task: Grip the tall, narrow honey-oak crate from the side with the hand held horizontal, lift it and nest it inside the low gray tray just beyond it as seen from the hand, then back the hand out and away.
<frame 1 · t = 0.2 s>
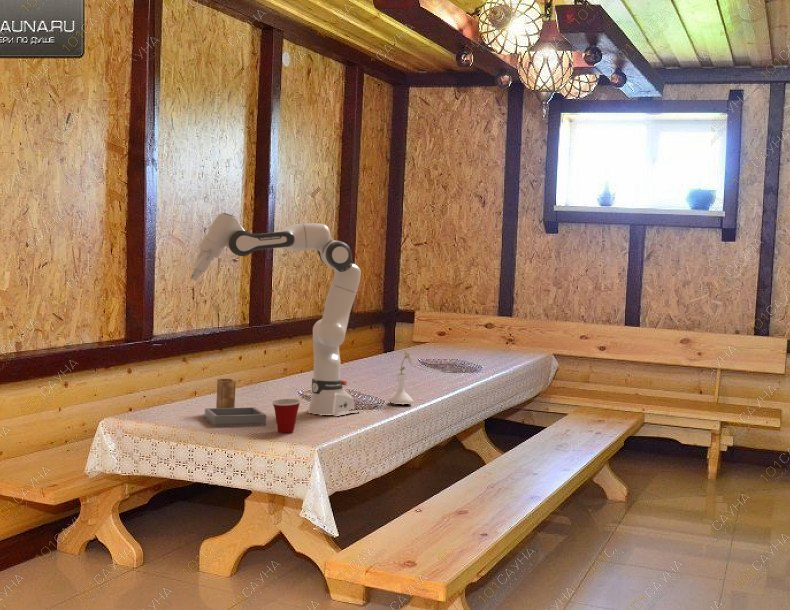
hand: (193, 279, 414), 54 cm above the table, tool tilted 25°, fingers open, 8 cm apart
gray tray: (235, 421, 405), on the table
oak crate: (225, 414, 419), on the table
plastic cup: (284, 432, 391), on the table
flower in vase: (400, 404, 463), on the table
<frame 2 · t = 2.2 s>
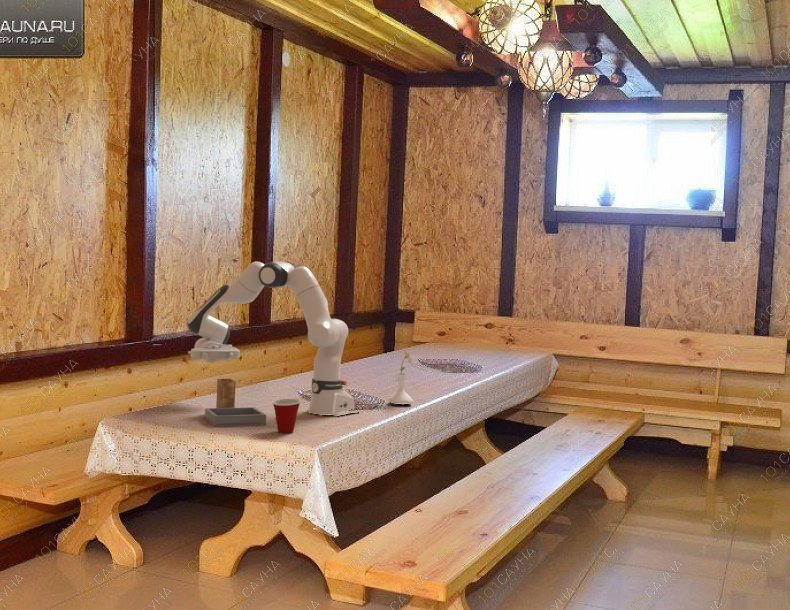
hand: (219, 356, 428), 22 cm above the table, tool horizontal, fingers open, 8 cm apart
nothing on the table moved.
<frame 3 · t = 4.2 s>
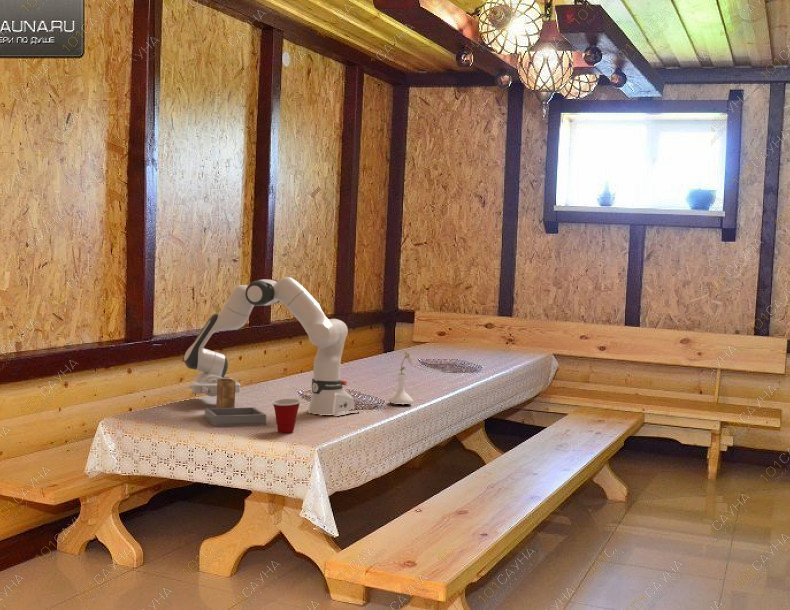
hand: (220, 391, 427), 8 cm above the table, tool horizontal, fingers open, 8 cm apart
nothing on the table moved.
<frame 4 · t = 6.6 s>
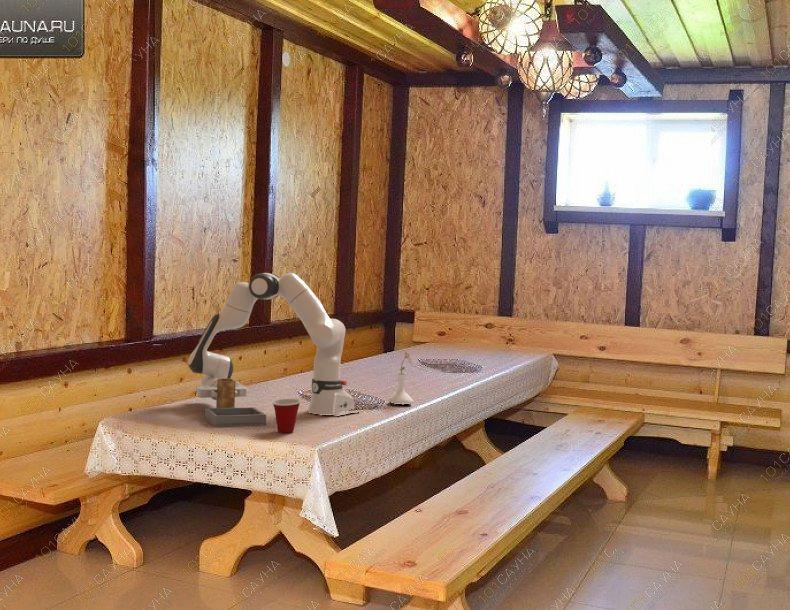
hand: (226, 395, 417), 8 cm above the table, tool horizontal, fingers closed on oak crate, 6 cm apart
oak crate: (225, 414, 419), on the table, touching gripper
everything else where it was.
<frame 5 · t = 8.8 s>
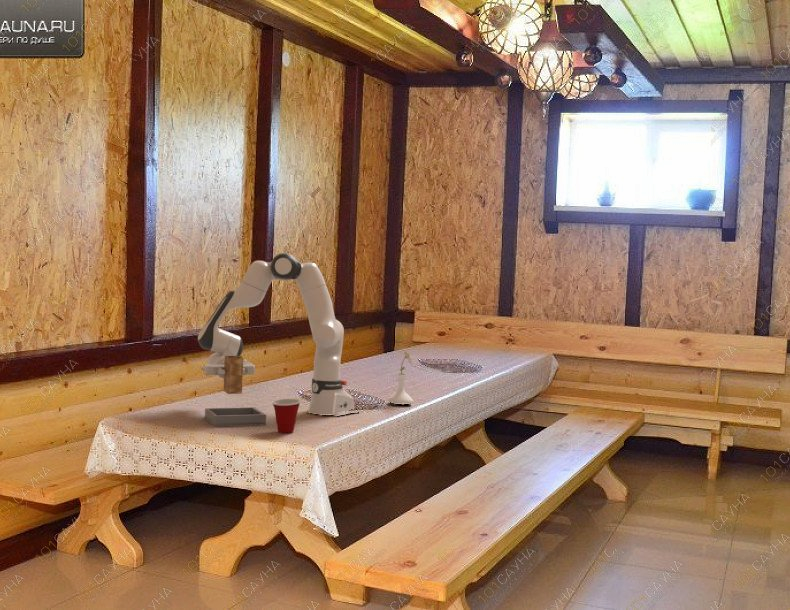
hand: (234, 372, 407), 19 cm above the table, tool horizontal, fingers closed on oak crate, 6 cm apart
oak crate: (232, 392, 409), point 11 cm above the table, touching gripper
everything else where it was.
when the fingers open (10 cm above the table, at t = 11.3 s): oak crate drops 1 cm, resting on gray tray.
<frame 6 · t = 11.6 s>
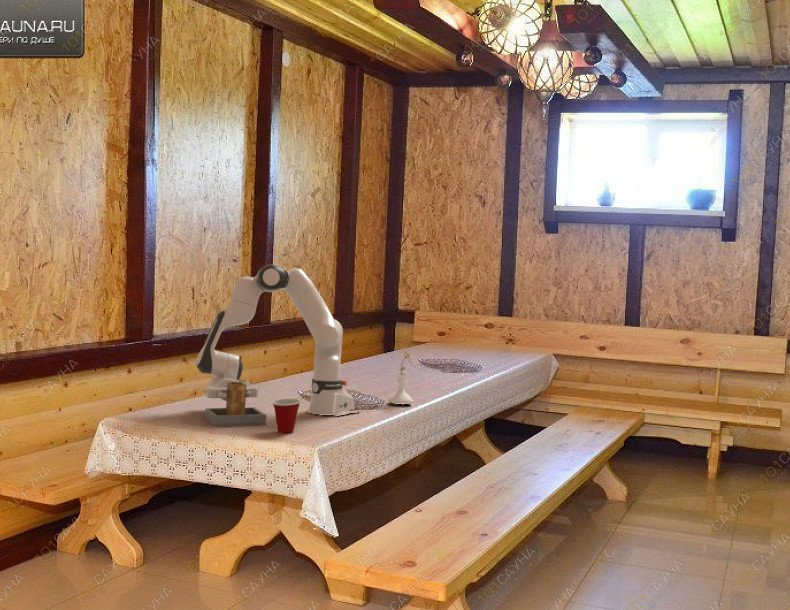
hand: (236, 395, 403), 10 cm above the table, tool horizontal, fingers open, 8 cm apart
oak crate: (235, 419, 405), point 1 cm above the table, touching gray tray
everything else where it was.
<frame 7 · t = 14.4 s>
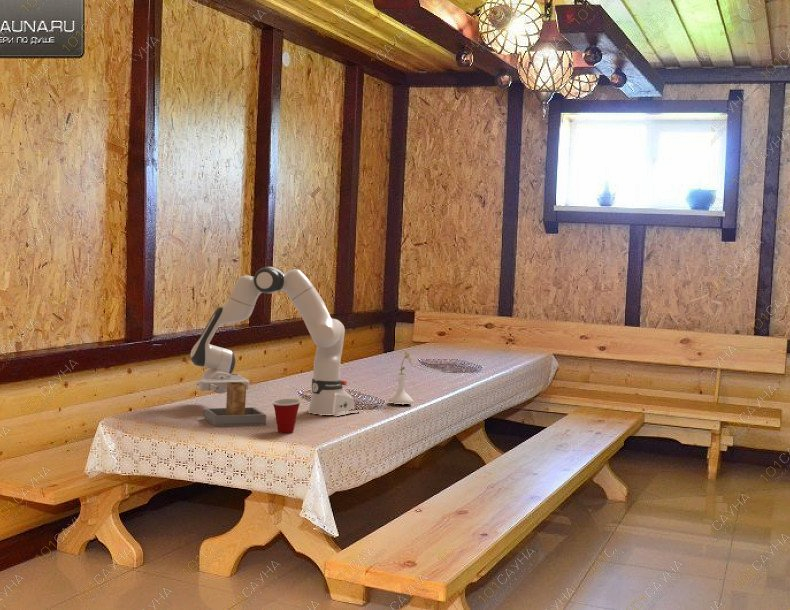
hand: (228, 387, 415), 11 cm above the table, tool horizontal, fingers open, 8 cm apart
nothing on the table moved.
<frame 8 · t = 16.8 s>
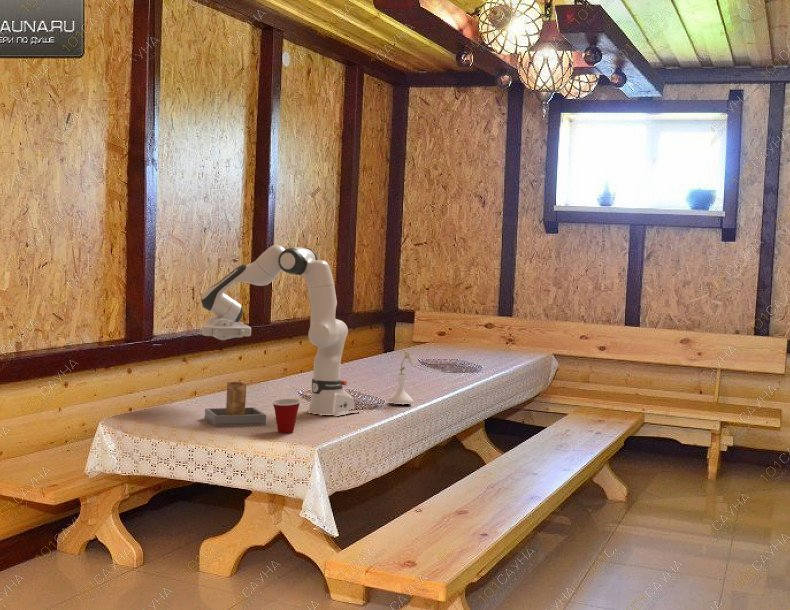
hand: (231, 333, 424), 32 cm above the table, tool horizontal, fingers open, 8 cm apart
nothing on the table moved.
at the end: oak crate inside the target area on the gray tray (0.1 cm from its centre), point 1.0 cm above the gray tray's base; oak crate tilted 0°; the gripper is holding nothing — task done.
